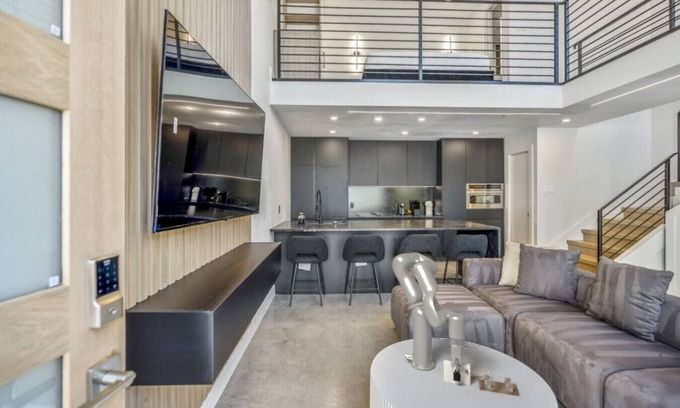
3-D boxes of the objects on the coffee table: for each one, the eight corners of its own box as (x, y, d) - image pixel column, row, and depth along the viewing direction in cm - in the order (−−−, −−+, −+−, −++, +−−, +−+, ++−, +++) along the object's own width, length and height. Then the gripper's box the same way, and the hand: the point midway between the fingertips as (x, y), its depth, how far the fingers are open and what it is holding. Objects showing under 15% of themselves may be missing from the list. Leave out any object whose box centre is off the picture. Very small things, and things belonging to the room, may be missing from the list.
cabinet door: (443, 382, 163) (443, 363, 162) (443, 378, 166) (443, 360, 166) (470, 386, 159) (470, 367, 159) (469, 382, 163) (469, 363, 162)
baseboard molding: (466, 377, 168) (492, 379, 166) (466, 372, 168) (492, 374, 166) (455, 350, 198) (476, 351, 197) (455, 345, 198) (476, 346, 197)
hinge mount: (479, 389, 156) (479, 381, 156) (478, 380, 164) (478, 372, 164) (518, 396, 151) (518, 387, 151) (515, 386, 159) (515, 378, 159)
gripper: (448, 332, 172) (448, 366, 172) (448, 346, 156) (448, 383, 156) (464, 334, 170) (464, 368, 170) (465, 348, 153) (465, 386, 154)
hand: (456, 375), depth 163 cm, fingers open, 9 cm apart
